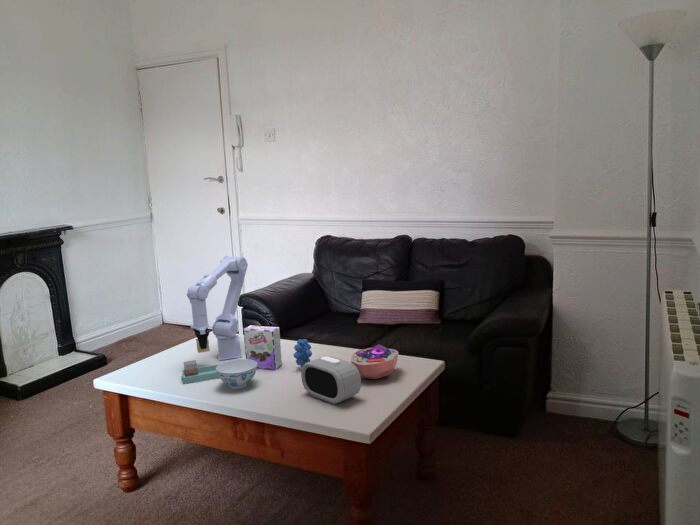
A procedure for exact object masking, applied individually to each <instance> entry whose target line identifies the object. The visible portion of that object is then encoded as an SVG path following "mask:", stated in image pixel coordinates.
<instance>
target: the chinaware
mask: <svg viewBox="0 0 700 525" xmlns="http://www.w3.org/2000/svg"><path fill="white" fill-rule="evenodd" d="M218 364H219V365H218V366H217V367H216V371H217V374H218V376H219V378H218V379H220V380H221V381H222V382H223V383H224V384H226V385H227V386H228V387H229V388H230V389H232V390H237V389H243V388H246V387H247V386H248V383H250V382H251V381H252V379H253V378H254V377H255V375H256V371H257V369H258V368H257V362H256V361H254V360H250V359H246V358H240V359H238V358H235V359H229V360H227V361H223V362H221V363H218Z"/></svg>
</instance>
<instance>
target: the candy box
mask: <svg viewBox="0 0 700 525" xmlns="http://www.w3.org/2000/svg"><path fill="white" fill-rule="evenodd" d="M280 330H281V329H280V327H279V326H263V325H262V326H261V325H252V324H251V325H249V326H246V327H244V328H243V330H242V331H243V339H244V340H243V341H244V343H243V344H244V352H245V354H244V355H245V359H250V360H254V361H256V362H257V369H260V370H272V371H276V370H278V369H280V368H281V367H282V366H283V363H282V346H281V333H280Z"/></svg>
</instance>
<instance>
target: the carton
mask: <svg viewBox="0 0 700 525" xmlns="http://www.w3.org/2000/svg"><path fill="white" fill-rule="evenodd" d="M195 342H196V351H197V353H198V354H199V353H200V354H201V353H206V352H210V342H209V338H208V339H207V347H206V349H201V348H200V345H199V341H198V338H196V339H195Z"/></svg>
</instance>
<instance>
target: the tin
mask: <svg viewBox="0 0 700 525" xmlns="http://www.w3.org/2000/svg"><path fill="white" fill-rule="evenodd" d="M198 368H199V367H198V363H197V360H196V359H194V360H188V361H183V370H184V372H185V377H188V376H194V375H198Z"/></svg>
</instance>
